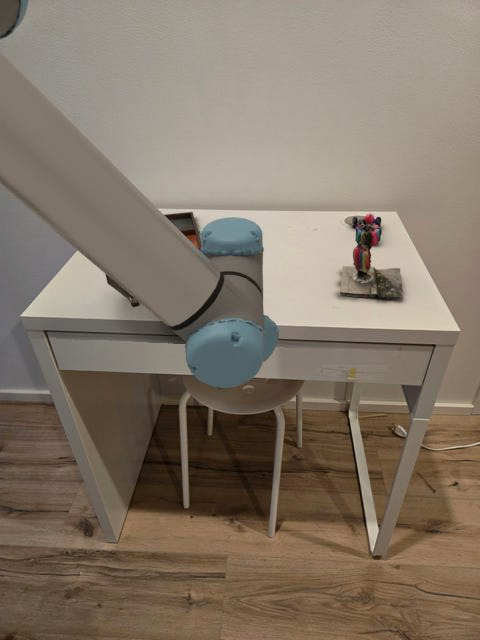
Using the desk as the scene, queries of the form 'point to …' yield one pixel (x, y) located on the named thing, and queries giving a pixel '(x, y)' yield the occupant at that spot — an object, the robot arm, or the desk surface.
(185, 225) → the sorting tray
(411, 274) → the desk surface
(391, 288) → the statue
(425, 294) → the desk surface
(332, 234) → the desk surface
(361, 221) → the toy car
